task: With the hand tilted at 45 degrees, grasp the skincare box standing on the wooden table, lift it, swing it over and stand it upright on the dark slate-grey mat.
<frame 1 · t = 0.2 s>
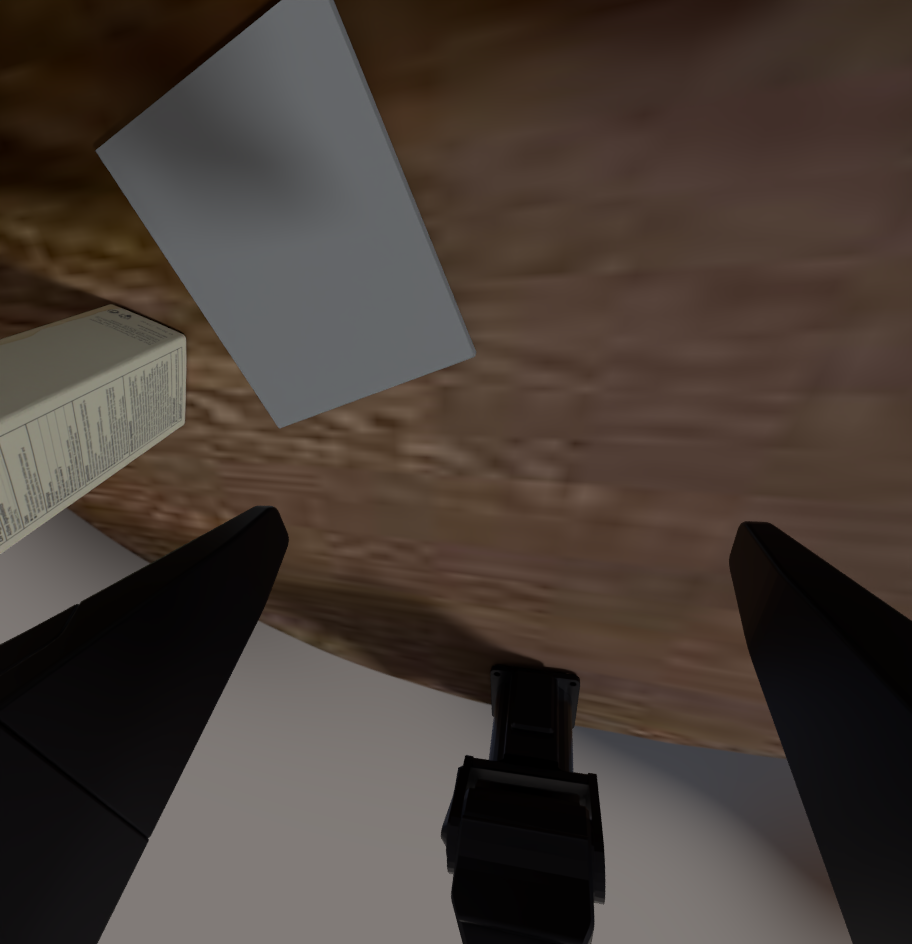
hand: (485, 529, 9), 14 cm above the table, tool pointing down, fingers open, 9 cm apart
slate mat: (299, 256, 21), on the table
skincare box: (156, 369, 26), on the table
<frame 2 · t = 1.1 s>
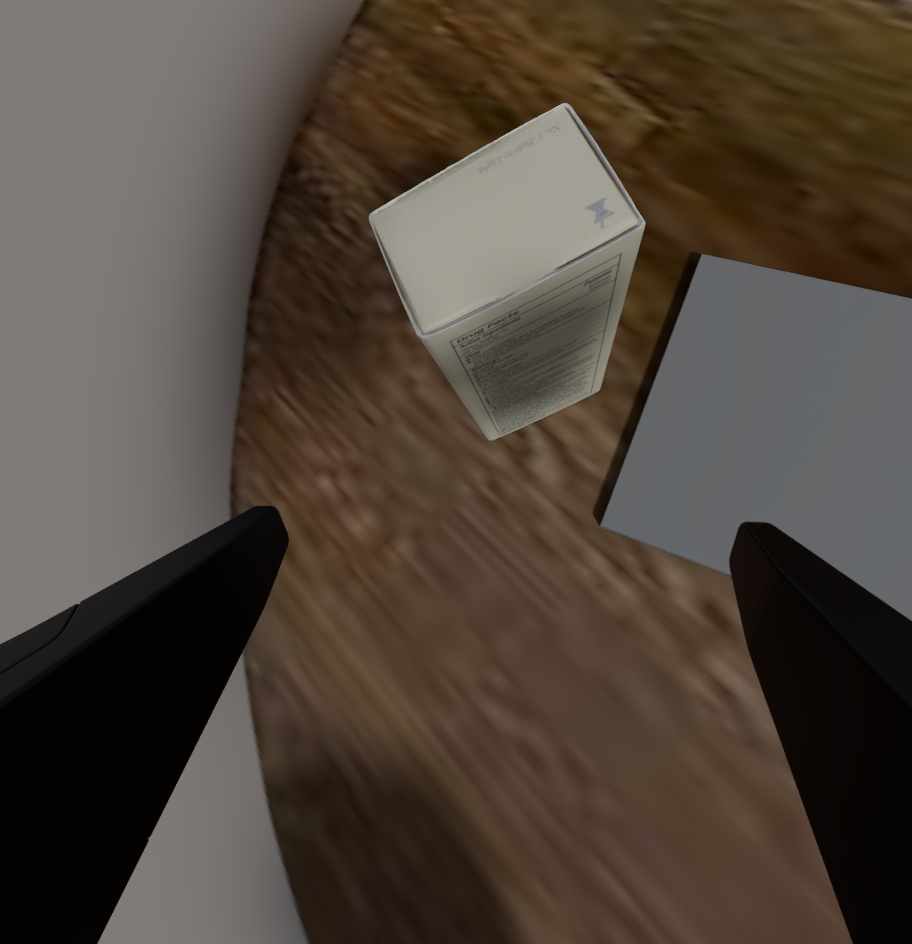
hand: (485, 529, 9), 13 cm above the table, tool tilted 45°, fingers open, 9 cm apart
slate mat: (786, 430, 20), on the table
skincare box: (525, 386, 23), on the table
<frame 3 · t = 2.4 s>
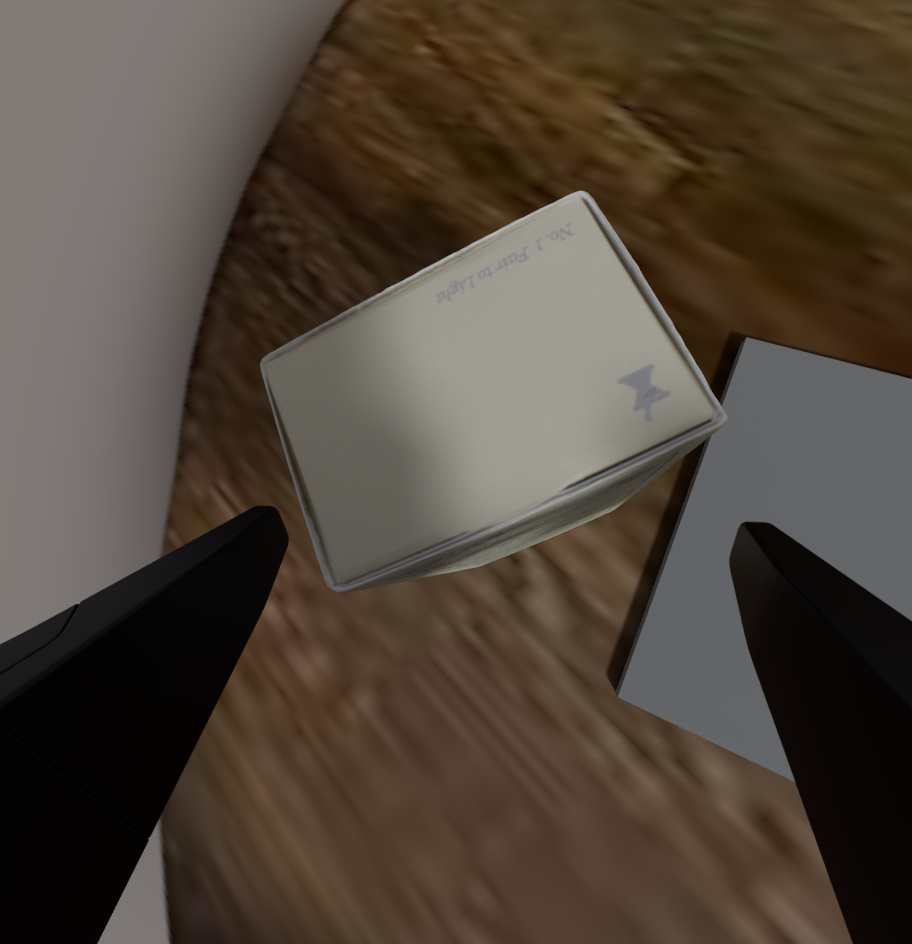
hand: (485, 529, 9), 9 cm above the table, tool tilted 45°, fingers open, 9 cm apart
slate mat: (862, 576, 15), on the table
skincare box: (521, 495, 19), on the table
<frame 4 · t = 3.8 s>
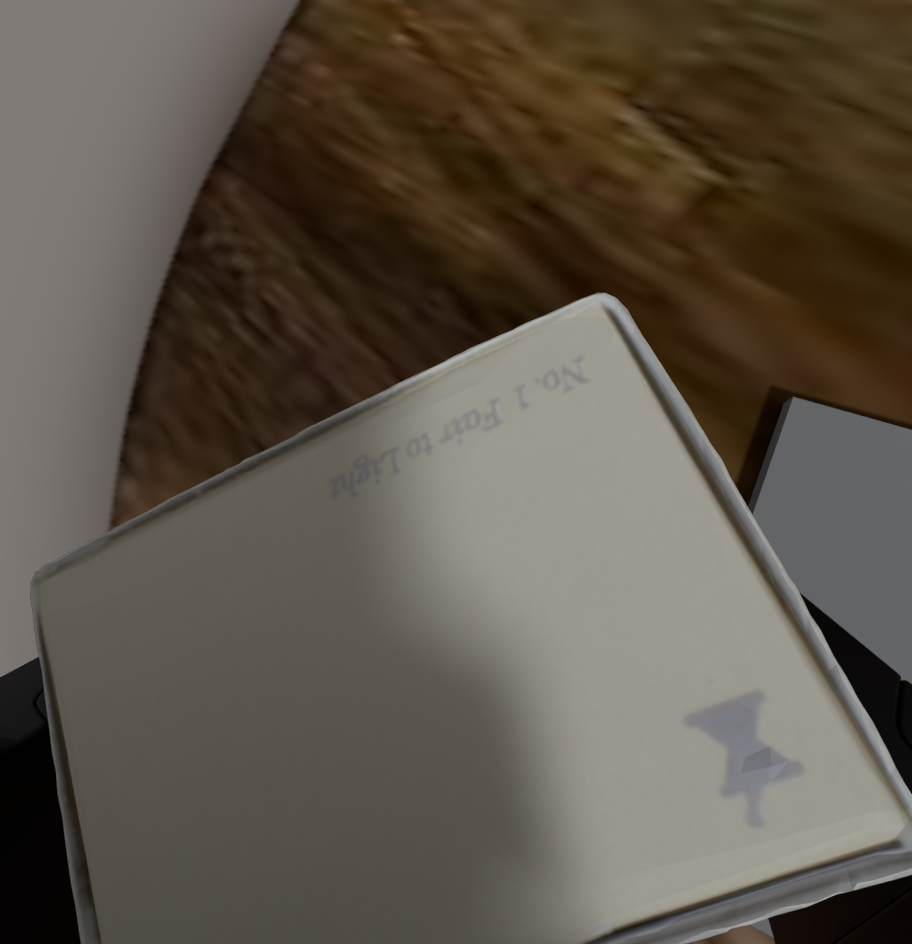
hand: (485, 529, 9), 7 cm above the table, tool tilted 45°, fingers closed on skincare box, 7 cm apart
skincare box: (513, 584, 15), on the table, touching gripper
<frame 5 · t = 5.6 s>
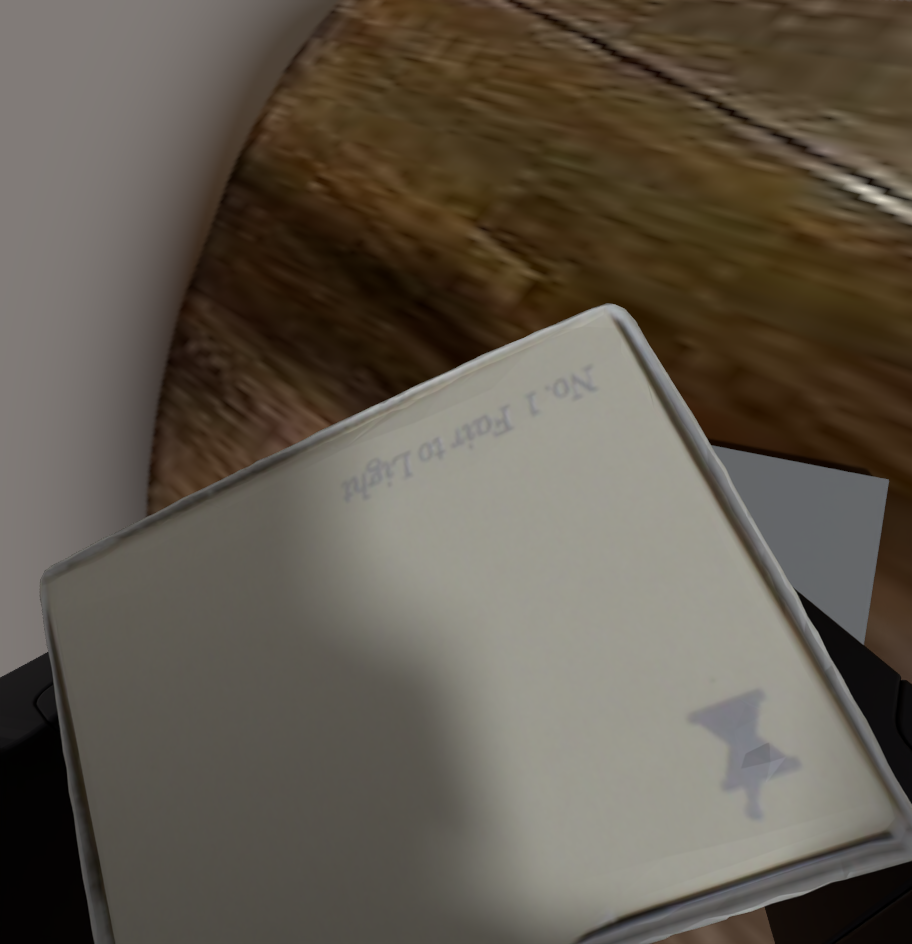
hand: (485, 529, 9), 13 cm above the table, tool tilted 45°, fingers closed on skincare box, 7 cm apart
slate mat: (693, 605, 20), on the table
skincare box: (508, 582, 15), point 6 cm above the table, touching gripper
when the fingers open (8 cm above the table, at t = 7.7 s): skincare box stays where it is, resting on slate mat.
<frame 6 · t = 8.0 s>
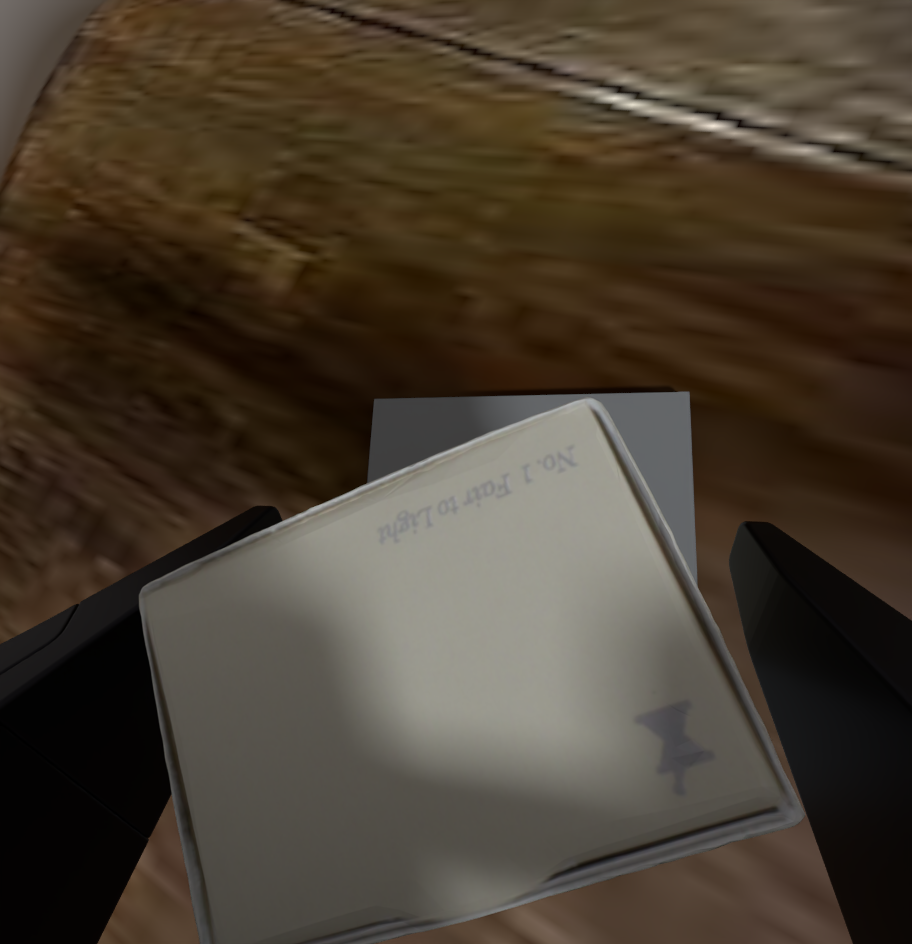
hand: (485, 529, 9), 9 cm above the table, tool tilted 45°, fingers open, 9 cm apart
slate mat: (516, 581, 17), on the table
skincare box: (513, 588, 17), resting on slate mat
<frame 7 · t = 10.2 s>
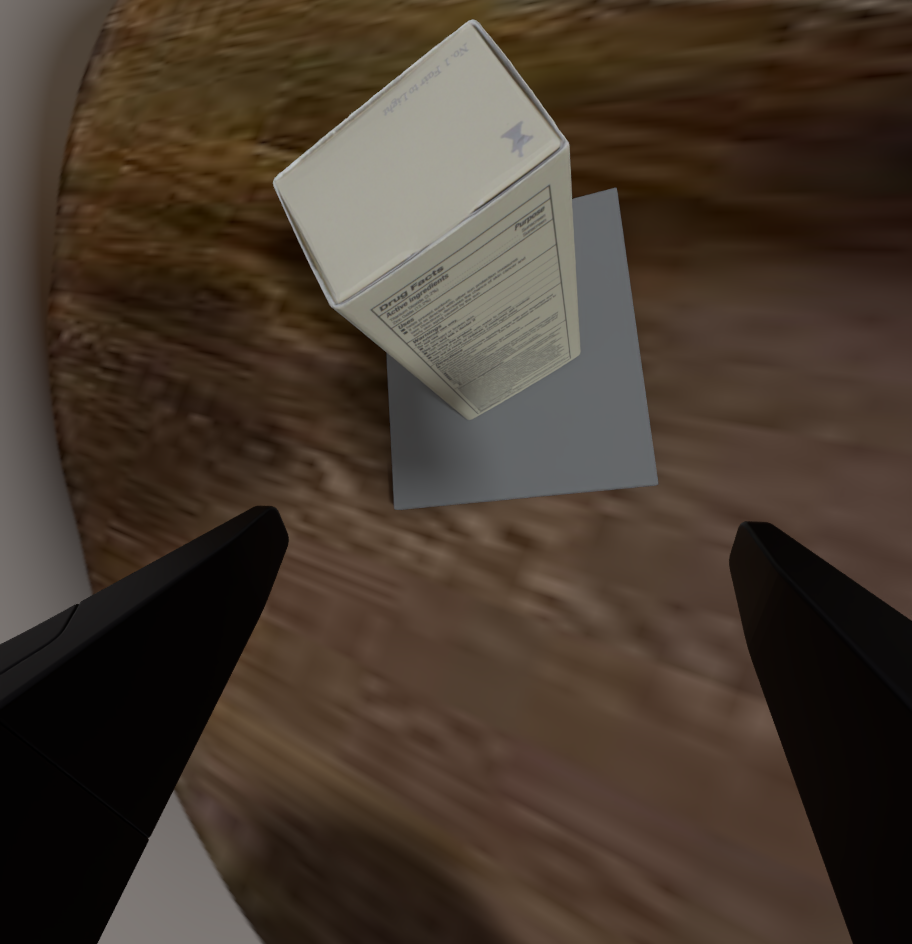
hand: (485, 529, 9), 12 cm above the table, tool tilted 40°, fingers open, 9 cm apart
slate mat: (505, 356, 22), on the table
skincare box: (502, 358, 22), resting on slate mat
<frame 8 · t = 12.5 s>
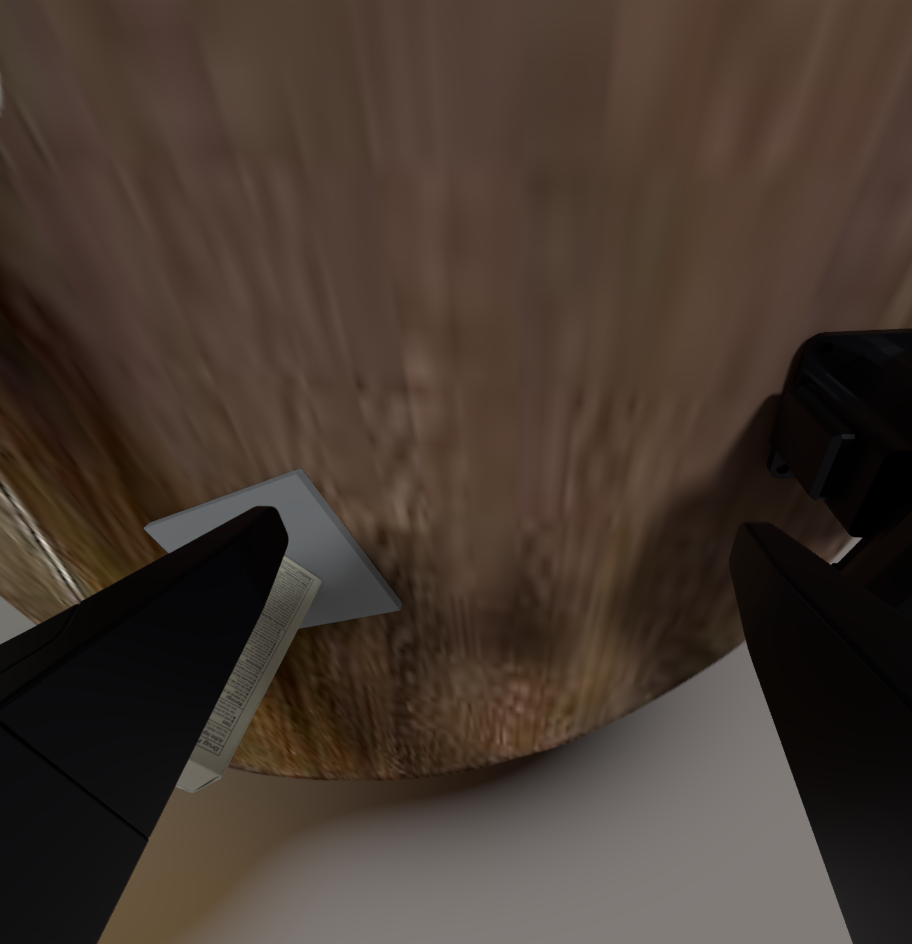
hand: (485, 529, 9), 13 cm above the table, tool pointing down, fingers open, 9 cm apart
slate mat: (276, 563, 32), on the table
skincare box: (276, 567, 31), resting on slate mat
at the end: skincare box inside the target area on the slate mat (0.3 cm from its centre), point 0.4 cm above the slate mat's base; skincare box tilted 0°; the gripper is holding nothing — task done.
